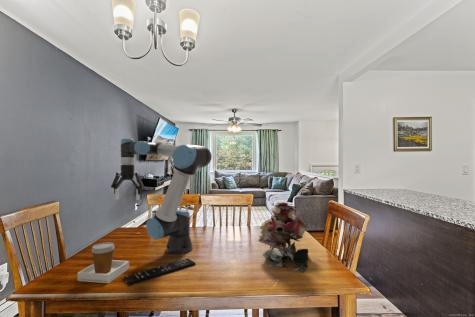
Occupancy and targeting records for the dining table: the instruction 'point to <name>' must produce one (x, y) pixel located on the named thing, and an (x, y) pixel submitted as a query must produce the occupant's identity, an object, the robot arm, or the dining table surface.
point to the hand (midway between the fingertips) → (127, 199)
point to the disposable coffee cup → (103, 257)
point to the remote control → (158, 271)
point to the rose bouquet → (284, 238)
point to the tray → (91, 276)
